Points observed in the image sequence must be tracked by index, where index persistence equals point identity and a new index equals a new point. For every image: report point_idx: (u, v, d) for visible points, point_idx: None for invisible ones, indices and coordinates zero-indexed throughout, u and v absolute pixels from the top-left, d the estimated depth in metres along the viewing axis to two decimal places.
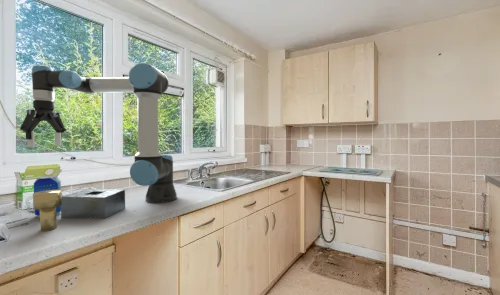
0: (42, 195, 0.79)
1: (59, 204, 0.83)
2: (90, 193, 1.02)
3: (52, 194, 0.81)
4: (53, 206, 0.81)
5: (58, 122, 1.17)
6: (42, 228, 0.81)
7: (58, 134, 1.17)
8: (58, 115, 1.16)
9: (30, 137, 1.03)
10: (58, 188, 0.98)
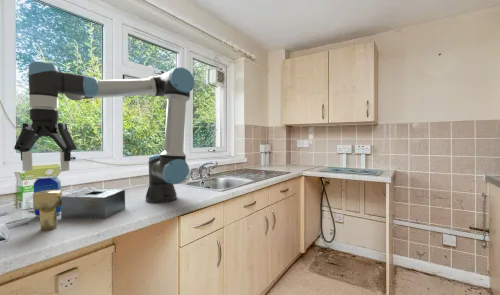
0: (42, 195, 0.79)
1: (59, 204, 0.83)
2: (90, 193, 1.02)
3: (52, 194, 0.81)
4: (53, 206, 0.81)
5: None
6: (42, 228, 0.81)
7: None
8: (59, 127, 0.80)
9: None
10: (58, 188, 0.98)
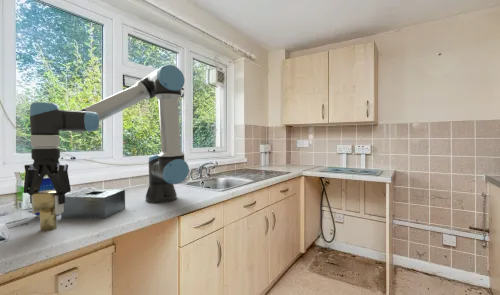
0: (42, 195, 0.79)
1: None
2: (90, 193, 1.02)
3: (52, 194, 0.81)
4: (53, 206, 0.81)
5: None
6: (42, 228, 0.81)
7: None
8: (60, 169, 0.81)
9: (32, 201, 0.82)
10: None
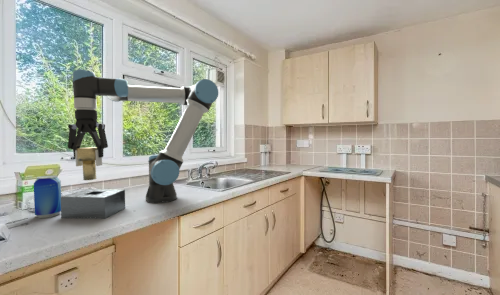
0: (85, 149, 0.94)
1: None
2: (90, 193, 1.02)
3: (93, 148, 0.95)
4: (94, 159, 0.96)
5: None
6: (85, 177, 0.95)
7: None
8: (99, 127, 0.95)
9: None
10: (58, 188, 0.98)
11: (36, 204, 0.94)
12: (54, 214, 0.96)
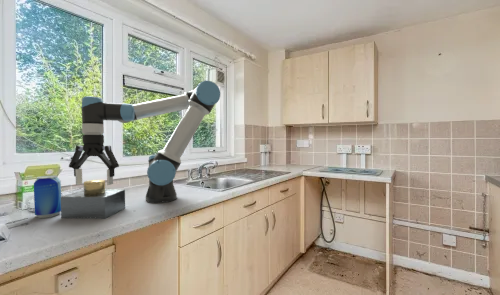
0: (92, 183, 0.97)
1: (104, 191, 1.01)
2: None
3: (99, 182, 0.99)
4: (100, 192, 0.99)
5: None
6: None
7: None
8: (106, 149, 0.98)
9: (75, 174, 1.00)
10: (58, 188, 0.98)
11: (36, 204, 0.94)
12: (54, 214, 0.96)
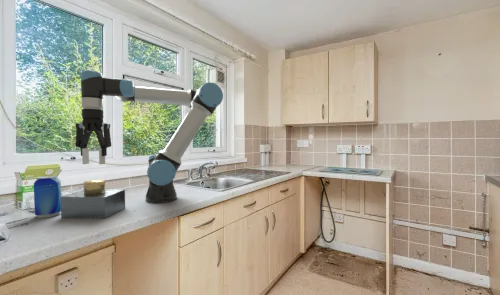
0: (92, 183, 0.97)
1: (104, 191, 1.01)
2: None
3: (99, 182, 0.99)
4: (100, 192, 0.99)
5: None
6: None
7: None
8: (104, 126, 0.98)
9: None
10: (58, 188, 0.98)
11: (36, 204, 0.94)
12: (54, 214, 0.96)
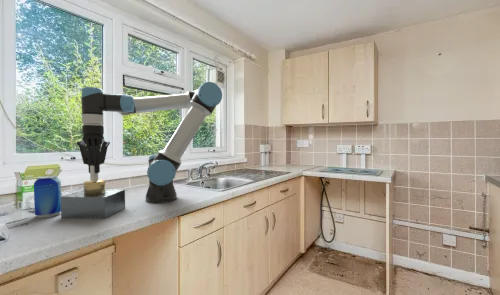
0: (92, 183, 0.97)
1: (104, 191, 1.01)
2: None
3: (99, 183, 0.99)
4: (100, 192, 0.99)
5: None
6: None
7: None
8: (103, 144, 0.98)
9: None
10: (58, 188, 0.98)
11: (36, 204, 0.94)
12: (54, 214, 0.96)
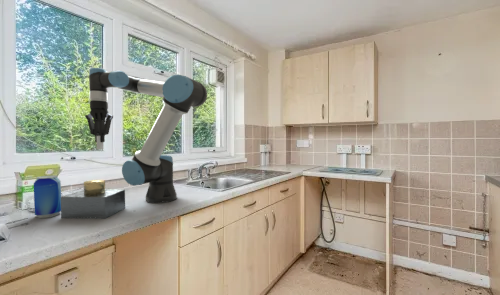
0: (92, 183, 0.97)
1: (104, 191, 1.01)
2: None
3: (99, 182, 0.99)
4: (100, 192, 0.99)
5: None
6: None
7: None
8: (108, 117, 1.15)
9: (96, 140, 1.16)
10: (58, 188, 0.98)
11: (36, 204, 0.94)
12: (54, 214, 0.96)
